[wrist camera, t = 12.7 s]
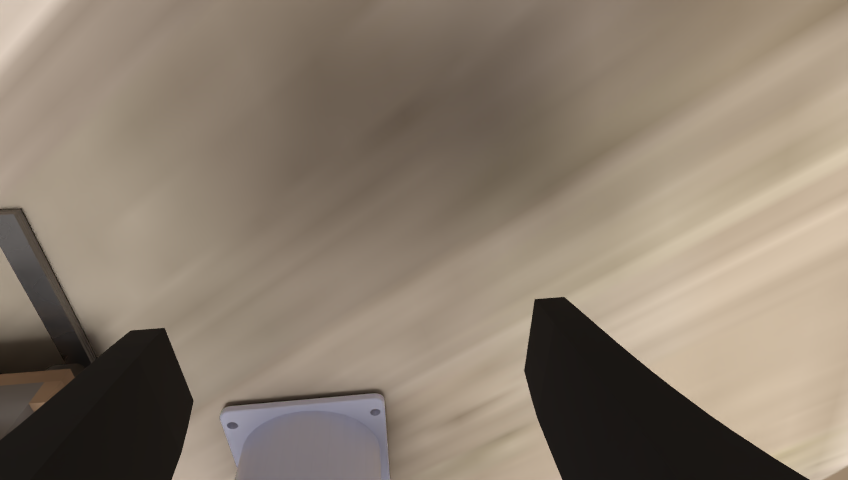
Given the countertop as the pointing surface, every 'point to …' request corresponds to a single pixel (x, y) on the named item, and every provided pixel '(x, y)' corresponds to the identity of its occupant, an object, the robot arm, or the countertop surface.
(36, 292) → the rails
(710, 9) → the countertop surface
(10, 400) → the cart
